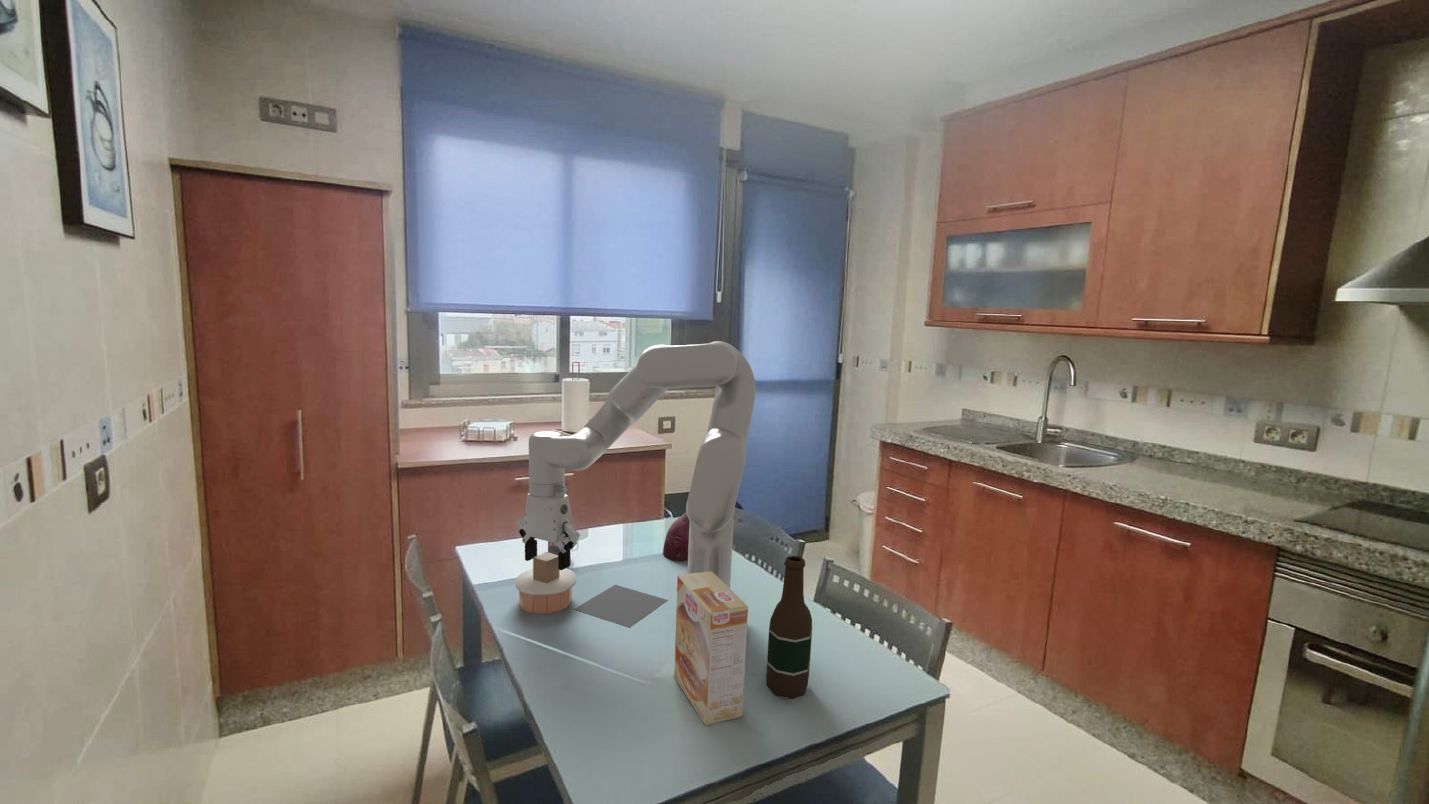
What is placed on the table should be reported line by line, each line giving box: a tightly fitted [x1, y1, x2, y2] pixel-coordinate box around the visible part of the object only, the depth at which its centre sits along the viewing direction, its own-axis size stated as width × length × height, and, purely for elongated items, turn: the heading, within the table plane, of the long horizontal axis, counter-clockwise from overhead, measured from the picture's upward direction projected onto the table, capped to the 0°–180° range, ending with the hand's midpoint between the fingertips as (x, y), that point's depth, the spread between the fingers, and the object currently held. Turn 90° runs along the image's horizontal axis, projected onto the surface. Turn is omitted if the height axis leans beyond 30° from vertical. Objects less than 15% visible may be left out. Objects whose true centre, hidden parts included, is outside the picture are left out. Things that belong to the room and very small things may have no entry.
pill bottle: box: [547, 537, 570, 555], centre depth 163 cm, size 6×6×10 cm
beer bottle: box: [765, 555, 813, 699], centre depth 109 cm, size 8×8×24 cm
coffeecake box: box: [673, 571, 749, 726], centre depth 106 cm, size 15×7×20 cm, turn 24°
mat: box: [573, 584, 669, 629], centre depth 139 cm, size 15×15×1 cm
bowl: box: [518, 587, 573, 615], centre depth 138 cm, size 11×11×5 cm
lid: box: [515, 551, 577, 595], centre depth 137 cm, size 13×13×6 cm
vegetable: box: [662, 511, 690, 563], centre depth 170 cm, size 10×10×15 cm
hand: (547, 563), depth 137 cm, fingers open, 9 cm apart
